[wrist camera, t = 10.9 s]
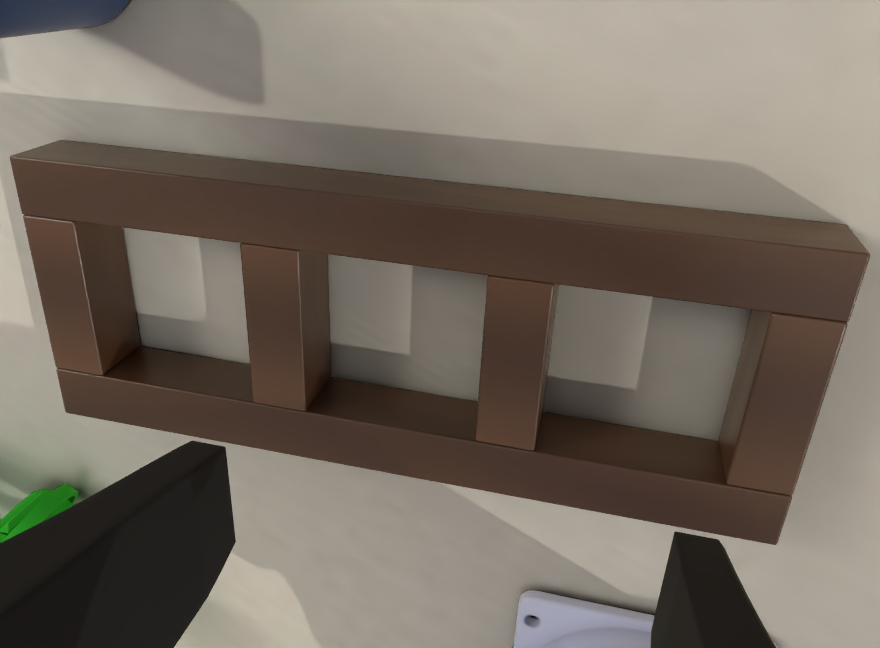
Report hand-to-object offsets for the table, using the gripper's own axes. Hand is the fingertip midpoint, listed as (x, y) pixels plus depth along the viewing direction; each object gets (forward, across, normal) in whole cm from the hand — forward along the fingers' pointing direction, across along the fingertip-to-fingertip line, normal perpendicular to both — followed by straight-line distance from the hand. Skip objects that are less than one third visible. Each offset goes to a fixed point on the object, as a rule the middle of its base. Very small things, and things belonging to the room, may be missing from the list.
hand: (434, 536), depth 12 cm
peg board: (+9, +3, +1) cm, 10 cm away
